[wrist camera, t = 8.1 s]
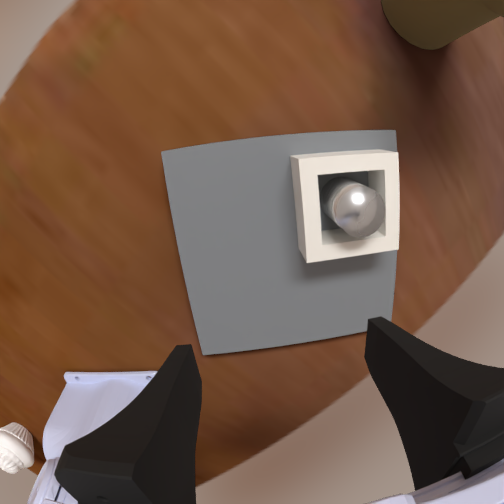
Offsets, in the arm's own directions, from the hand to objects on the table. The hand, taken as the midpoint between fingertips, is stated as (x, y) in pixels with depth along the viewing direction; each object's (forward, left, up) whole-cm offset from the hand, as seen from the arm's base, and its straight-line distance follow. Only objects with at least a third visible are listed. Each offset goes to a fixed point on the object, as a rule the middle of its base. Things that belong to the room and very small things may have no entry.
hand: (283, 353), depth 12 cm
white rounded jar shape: (-32, -19, -10) cm, 38 cm away
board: (+2, +1, -9) cm, 10 cm away
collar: (+5, +4, -8) cm, 10 cm away
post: (+5, +4, -8) cm, 10 cm away
